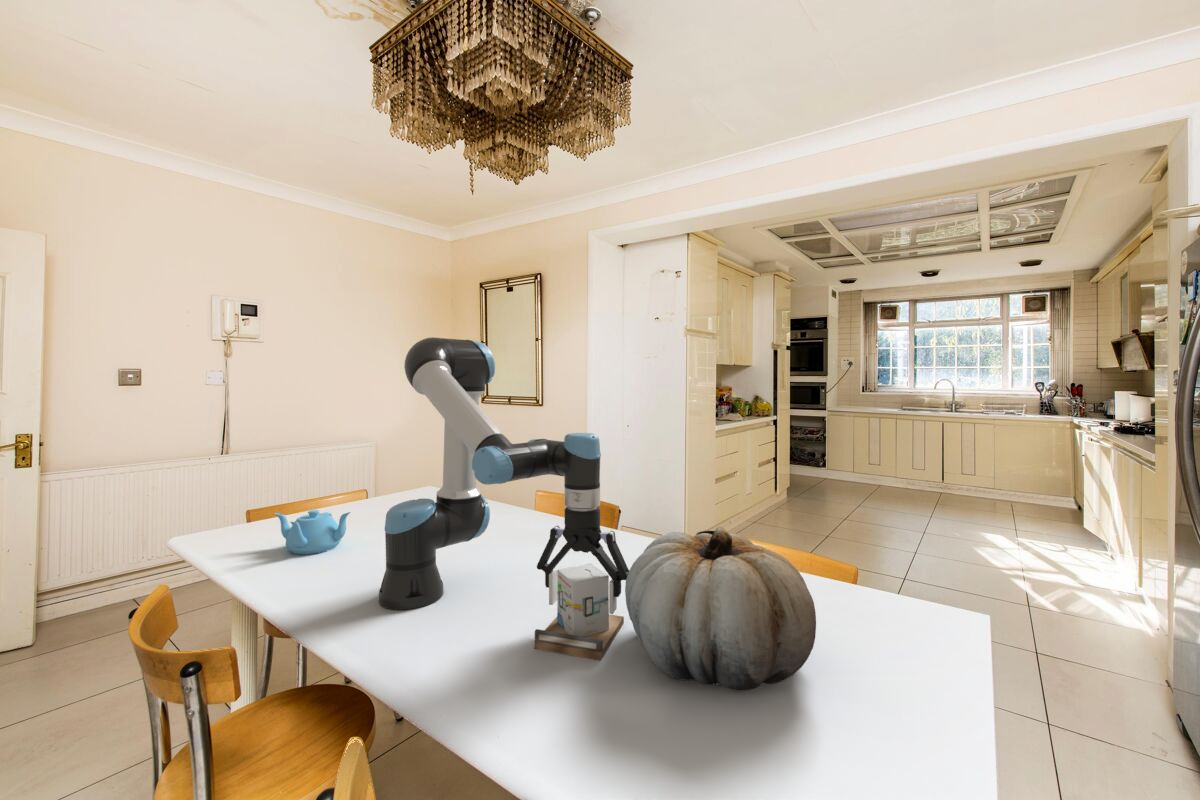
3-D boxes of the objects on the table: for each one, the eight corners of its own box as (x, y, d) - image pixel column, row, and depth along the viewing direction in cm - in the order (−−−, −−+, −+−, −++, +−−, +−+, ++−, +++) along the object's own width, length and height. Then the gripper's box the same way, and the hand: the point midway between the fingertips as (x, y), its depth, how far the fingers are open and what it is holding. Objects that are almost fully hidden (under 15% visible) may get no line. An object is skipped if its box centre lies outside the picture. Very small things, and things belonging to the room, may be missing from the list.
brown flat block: (534, 648, 101) (534, 631, 101) (565, 614, 116) (565, 599, 116) (600, 660, 96) (600, 642, 96) (623, 623, 112) (623, 607, 111)
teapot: (292, 561, 152) (291, 521, 151) (274, 548, 164) (273, 510, 164) (351, 548, 164) (351, 510, 164) (331, 536, 177) (330, 501, 177)
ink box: (556, 622, 109) (556, 568, 109) (591, 613, 113) (591, 562, 113) (572, 639, 101) (572, 582, 101) (610, 630, 105) (609, 574, 105)
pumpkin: (586, 635, 106) (586, 517, 105) (716, 599, 124) (717, 498, 123) (705, 744, 74) (706, 575, 73) (858, 675, 91) (859, 538, 91)
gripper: (521, 506, 107) (521, 605, 107) (635, 516, 99) (635, 623, 100) (536, 498, 114) (536, 592, 115) (644, 507, 106) (643, 607, 107)
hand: (582, 606), depth 107 cm, fingers open, 13 cm apart
